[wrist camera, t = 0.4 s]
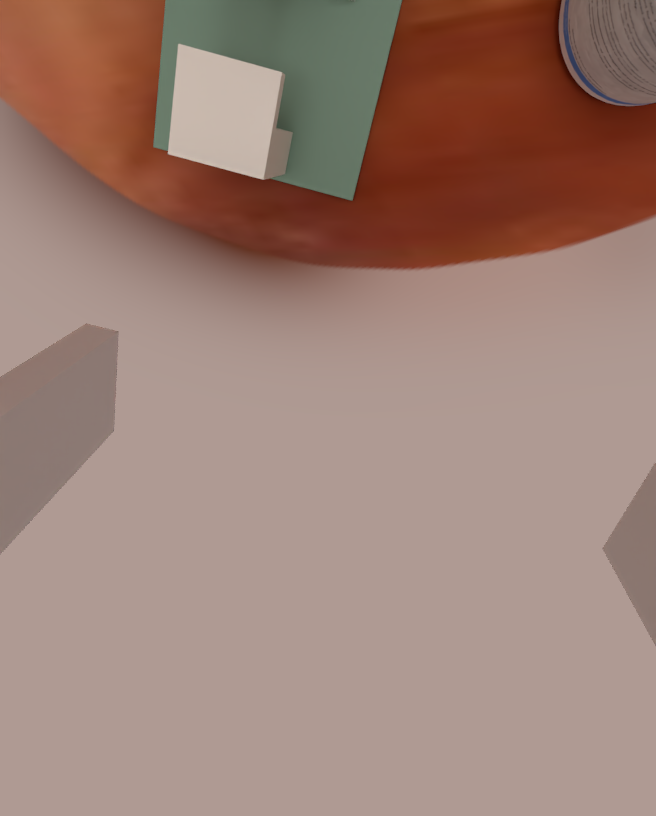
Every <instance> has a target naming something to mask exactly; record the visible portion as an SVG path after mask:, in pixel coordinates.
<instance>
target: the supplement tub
mask: <svg viewBox="0 0 656 816" xmlns="http://www.w3.org/2000/svg"><path fill="white" fill-rule="evenodd" d="M559 41H560V46H561V51H562V55H563V58H564V61H565V63H566V66H567V68H568V70H569V72H570V73H571V75H572V77H573V78H574V79H575V81H576V82H577V83H578V84H579V85H580V87H581V88H582V89H584V90H585V91H586V92H587V93H589V94H590V95H591V96H593V97H595V98H597V99H599V100H601V101H603V102H606V103H610V104H614V105H620V106H640V105H646V104H651V103H656V0H562V2H561V8H560V15H559Z"/></svg>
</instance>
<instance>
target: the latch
mask: <svg viewBox="0 0 656 816" xmlns="http://www.w3.org/2000/svg"><path fill="white" fill-rule="evenodd" d="M284 80H285V74H284V73H282V72H279V71H276V70H272V69H269V68H265V67H261V66H258V65H254V64H251V63H247V62H243V61H240V60H236V59H232V58H229V57H225V56H222V55H218V54H214V53H211V52H207V51H204V50H200V49H196V48H193V47H189V46H185V45H182V44H178V52H177V63H176V73H175V84H174V94H173V105H172V115H171V126H170V136H169V147H168V154H169V155H173V156H177V157H181V158H184V159H188V160H192V161H195V162H199V163H203V164H206V165H210V166H214V167H218V168H221V169H225V170H229V171H232V172H236V173H240V174H244V175H247V176H251V177H255V178H258V179H262V180H265V179H269V178H272V177H276V176H280V175H284V174H285V171H286V166H287V161H288V156H289V150H290V145H291V140H292V135H293V132H290V131H286V130H282V129H279V128H276V126H277V120H278V114H279V109H280V103H281V97H282V92H283V86H284Z"/></svg>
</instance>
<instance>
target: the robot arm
mask: <svg viewBox="0 0 656 816" xmlns="http://www.w3.org/2000/svg"><path fill="white" fill-rule="evenodd" d="M117 352H118V331H114V330H110V329H106V328H102V327H98V326H94V325H90V324H85V325H83V326H82V327H80V328H78V329H77V330H75V331H74V332H72V333H71V334H69V335H67V336H66V337H64V338H62V339H61V340H59V341H58V342H56V343H55V344H53V345H51V346H49V347H48V348H46V349H45V350H43V351H41V352H40V353H38V354H37V355H35V356H33V357H32V358H30V359H28V360H27V361H25V362H24V363H22V364H20V365H19V366H17V367H16V368H14V369H13V370H11V371H9V372H8V373H6V374H4V375H3V376H1V377H0V554H1V553H2V552H3V551H4V550H5V548H7V546H8V545H9V544H10V543H11V542H12V541H13V540H14V539H15V538H16V537H17V535H19V533H20V532H21V531H22V530H23V529H24V528H25V526H27V525H28V524H29V523H30V521H31V520H32V519H33V518H34V517H35V516H36V515H37V514H38V513H39V512H40V511H41V509H42V508H43V507H44V506H45V505H46V504H47V503H48V502H49V501H50V500H51V499H52V498H53V496H54V495H55V494H56V493H57V492H58V491H59V490H60V489H61V488H62V487H63V486H64V485H65V483H66V482H67V481H68V480H69V479H70V478H71V477H72V476H73V475H74V474H75V473H76V472H77V470H78V469H79V468H80V467H81V466H82V465H83V464H84V463H85V462H86V461H87V460H88V458H89V457H90V456H91V455H92V454H93V453H94V452H95V451H96V450H97V449H98V448H99V446H100V445H101V444H102V443H103V442H104V441H105V440H106V439H107V438H108V437H109V436H110V435H111V433H112V432H113V431H114V418H115V397H116V375H117V374H116V373H117ZM603 550H604V552H605V554H606V556H607V558H608V560H609V561H610V563H611V565H612V567H613V569H614V570H615V572H616V574H617V576H618V578H619V580H620V582H621V583H622V585H623V587H624V589H625V590H626V593H627V594H628V596H629V598H630V600H631V602H632V603H633V605H634V607H635V609H636V611H637V613H638V615H639V616H640V618H641V620H642V622H643V624H644V626H645V627H646V629H647V631H648V633H649V635H650V637H651V638H652V640H653V642H654V644H655V646H656V463H655V464H654V466H653V467H652V469H651V471H650V472H649V474H648V476H647V477H646V479H645V480H644V482H643V483H642V485H641V487H640V488H639V490H638V492H637V493H636V495H635V496H634V498H633V500H632V501H631V503H630V505H629V506H628V508H627V509H626V511H625V513H624V514H623V516H622V518H621V519H620V521H619V523H618V524H617V526H616V527H615V529H614V531H613V532H612V534H611V535H610V537H609V539H608V541H607V542H606V544H605V545H604V547H603Z"/></svg>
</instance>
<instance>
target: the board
mask: <svg viewBox="0 0 656 816" xmlns="http://www.w3.org/2000/svg"><path fill="white" fill-rule="evenodd" d="M401 4H402V0H355V2H354V1H351V0H166V1H165V13H164V25H163V37H162V49H161V60H160V72H159V84H158V96H157V108H156V120H155V132H154V144H153V147H155V148H159V149H162V150H166V151H168V147H169V136H170V126H171V115H172V105H173V94H174V84H175V73H176V63H177V52H178V44H182V45H185V46H189V47H193V48H196V49H200V50H204V51H207V52H211V53H214V54H218V55H222V56H225V57H229V58H232V59H236V60H240V61H243V62H247V63H251V64H254V65H258V66H261V67H265V68H269V69H272V70H276V71H279V72H282V73H284V74H285V80H284V86H283V92H282V97H281V103H280V109H279V114H278V120H277V126H276V128H279V129H282V130H286V131H290V132H293V135H292V140H291V145H290V150H289V156H288V161H287V166H286V171H285V174H284V175H280V176H276V177H272V178H270V179H273V180H277V181H281V182H284V183H288V184H292V185H296V186H299V187H303V188H307V189H310V190H314V191H318V192H322V193H325V194H329V195H333V196H336V197H340V198H344V199H347V200H351V201H352V200H353V197H354V193H355V189H356V185H357V181H358V177H359V173H360V169H361V165H362V161H363V157H364V153H365V149H366V145H367V141H368V137H369V133H370V129H371V125H372V121H373V117H374V112H375V108H376V104H377V100H378V96H379V92H380V88H381V84H382V80H383V76H384V72H385V68H386V64H387V60H388V56H389V52H390V48H391V44H392V40H393V36H394V32H395V28H396V24H397V20H398V16H399V12H400V8H401Z"/></svg>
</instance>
